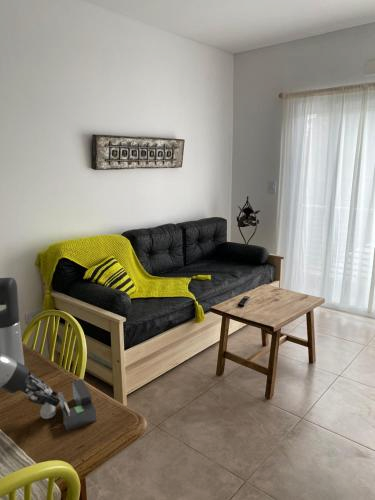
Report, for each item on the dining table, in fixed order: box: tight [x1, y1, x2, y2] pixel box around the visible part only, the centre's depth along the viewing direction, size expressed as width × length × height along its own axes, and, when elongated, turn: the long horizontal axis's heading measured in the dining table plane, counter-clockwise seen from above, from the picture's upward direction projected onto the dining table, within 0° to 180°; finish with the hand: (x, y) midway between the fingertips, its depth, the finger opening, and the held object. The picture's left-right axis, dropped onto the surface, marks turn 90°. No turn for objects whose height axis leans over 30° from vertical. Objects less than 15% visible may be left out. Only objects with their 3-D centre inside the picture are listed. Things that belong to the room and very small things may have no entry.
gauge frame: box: [62, 378, 97, 431], centre depth 114 cm, size 14×8×6 cm, turn 30°
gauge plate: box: [57, 391, 70, 413], centre depth 112 cm, size 11×1×4 cm, turn 30°
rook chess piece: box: [39, 386, 57, 420], centre depth 111 cm, size 4×4×8 cm
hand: (56, 399), depth 112 cm, fingers closed on rook chess piece, 3 cm apart
